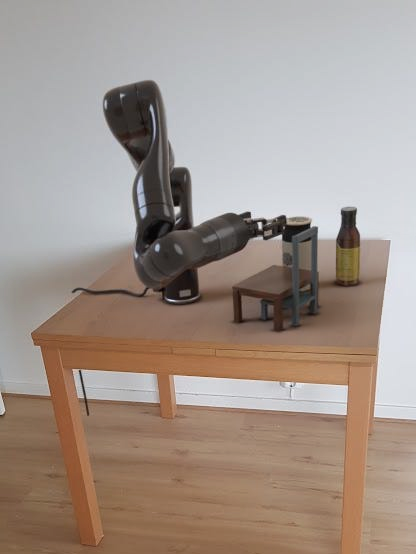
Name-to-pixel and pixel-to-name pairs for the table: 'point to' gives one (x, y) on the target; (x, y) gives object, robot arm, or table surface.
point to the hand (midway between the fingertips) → (266, 218)
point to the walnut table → (270, 289)
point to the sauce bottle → (348, 249)
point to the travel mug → (292, 229)
